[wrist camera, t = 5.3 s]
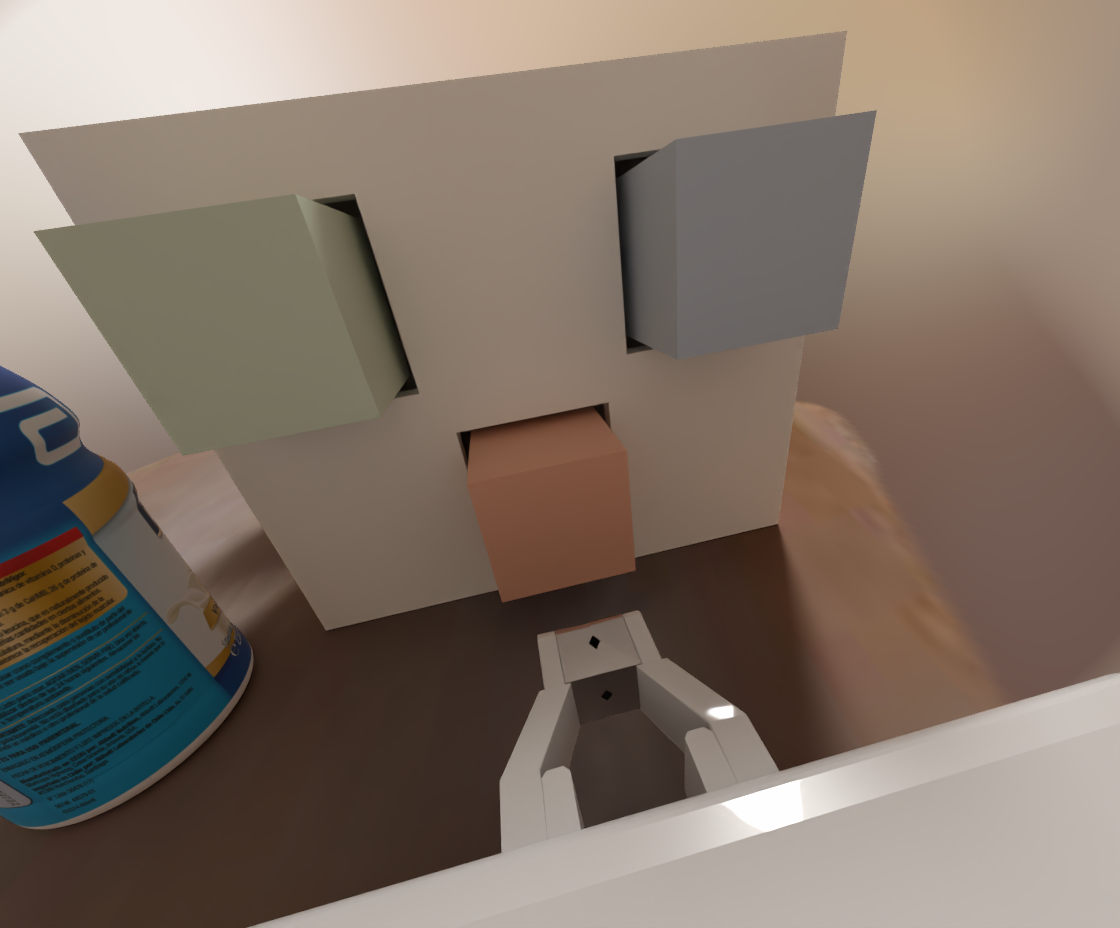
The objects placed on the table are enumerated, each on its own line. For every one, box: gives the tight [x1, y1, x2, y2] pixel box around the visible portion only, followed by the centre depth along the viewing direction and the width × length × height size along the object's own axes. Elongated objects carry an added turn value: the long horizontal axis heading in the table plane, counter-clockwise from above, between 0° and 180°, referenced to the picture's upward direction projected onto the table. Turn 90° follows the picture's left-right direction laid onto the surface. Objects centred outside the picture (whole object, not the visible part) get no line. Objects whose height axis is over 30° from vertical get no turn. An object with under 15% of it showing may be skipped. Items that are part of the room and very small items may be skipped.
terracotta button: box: [467, 406, 636, 602], centre depth 18 cm, size 6×6×6 cm
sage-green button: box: [34, 194, 411, 455], centre depth 14 cm, size 6×6×6 cm
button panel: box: [19, 31, 847, 630], centre depth 22 cm, size 26×10×21 cm, turn 100°
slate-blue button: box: [615, 111, 876, 360], centre depth 15 cm, size 6×6×6 cm
